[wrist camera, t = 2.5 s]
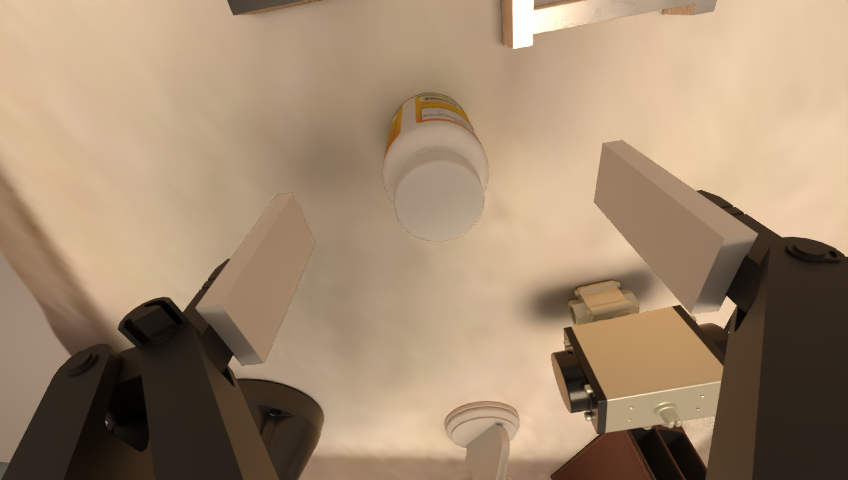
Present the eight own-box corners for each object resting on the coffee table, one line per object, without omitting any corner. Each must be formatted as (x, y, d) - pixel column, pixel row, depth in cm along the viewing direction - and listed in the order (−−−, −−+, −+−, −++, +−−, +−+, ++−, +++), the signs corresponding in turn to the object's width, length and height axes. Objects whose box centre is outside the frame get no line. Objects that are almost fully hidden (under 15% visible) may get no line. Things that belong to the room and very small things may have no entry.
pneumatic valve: (528, 290, 31) (582, 422, 21) (662, 262, 29) (786, 390, 20) (534, 328, 34) (583, 459, 24) (655, 304, 33) (759, 433, 23)
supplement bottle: (415, 184, 25) (416, 270, 17) (373, 119, 22) (351, 185, 14) (482, 149, 23) (519, 224, 15) (447, 74, 20) (469, 118, 12)
